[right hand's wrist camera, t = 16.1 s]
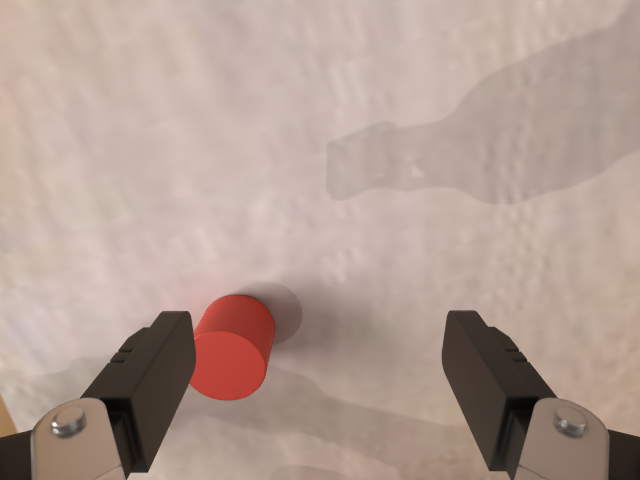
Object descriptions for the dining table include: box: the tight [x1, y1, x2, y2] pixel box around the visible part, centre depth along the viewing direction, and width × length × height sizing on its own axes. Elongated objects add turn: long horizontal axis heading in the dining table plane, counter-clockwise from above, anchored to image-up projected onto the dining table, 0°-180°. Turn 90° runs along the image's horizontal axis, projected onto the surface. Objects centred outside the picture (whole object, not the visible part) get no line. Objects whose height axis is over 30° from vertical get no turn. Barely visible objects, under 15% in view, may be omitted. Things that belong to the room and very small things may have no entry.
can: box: [189, 295, 275, 400], centre depth 23 cm, size 5×5×4 cm
